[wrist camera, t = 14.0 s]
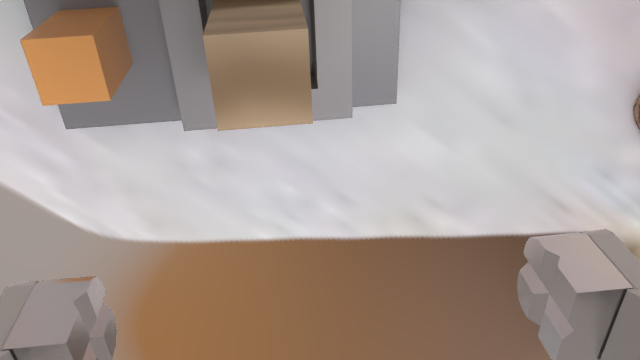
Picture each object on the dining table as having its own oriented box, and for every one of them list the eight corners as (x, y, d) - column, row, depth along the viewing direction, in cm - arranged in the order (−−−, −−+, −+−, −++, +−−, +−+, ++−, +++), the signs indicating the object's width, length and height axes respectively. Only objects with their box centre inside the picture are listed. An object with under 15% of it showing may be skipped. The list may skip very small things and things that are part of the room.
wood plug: (216, -10, 27) (202, 35, 20) (295, -15, 27) (308, 28, 20) (227, 66, 29) (217, 131, 22) (300, 60, 29) (313, 123, 22)
